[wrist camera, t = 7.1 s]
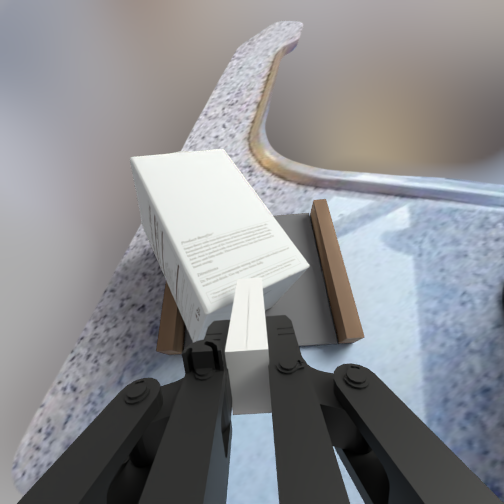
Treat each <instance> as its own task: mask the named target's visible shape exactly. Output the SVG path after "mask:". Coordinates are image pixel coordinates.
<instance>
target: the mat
mask: <svg viewBox="0 0 504 504" xmlns="http://www.w3.org/2000/svg"><path fill="white" fill-rule="evenodd" d="M273 217H274V218H275V219H276V221H277V222H278V224H279V225H280V226H281V227H282V229H283V230H284V231H285V233H286V234H287V236H288V237H289V238H290V240H291V241H292V242H293V244H294V245H295V246H296V248H297V249H298V250H299V252H300V253H301V254H302V256H303V257H304V259H305V260H306V261H307V263H308V264H309V268H308V269H307V270H306V271H305V272H304V273H303V274H302V275H301V276H300V277H299V278H298V280H297V281H296V282H295V283H294V284H293V285H292V286H291V287H290V288H289V289H288V290H287V291H286V292H285V294H284V295H283V296H282V297H281V298H280V299H279V300H278V301H277V302H276V303H275V304H274V306H273V307H271V308H269V309H267V310H265V316H277V315H286V316H287V317H288V318H289V319H290V320H291V321H292V324H293V329H294V331H295V335H296V338H297V342H298V345H299V346H310V345H325V344H336V343H337V339H336V334H335V330H334V325H333V321H332V316H331V312H330V307H329V303H328V298H327V294H326V289H325V285H324V280H323V275H322V271H321V266H320V262H319V257H318V253H317V248H316V244H315V239H314V235H313V230H312V226H311V221H310V217H309V213H302V214H290V215H277V216H273ZM191 343H193V341H192V339H191V336H190V334H189V332H188V330H187V327H186V335H185V346H184V349H185V348H186V347H187V346H189V345H190V344H191Z"/></svg>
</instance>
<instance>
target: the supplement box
mask: <svg viewBox="0 0 504 504" xmlns="http://www.w3.org/2000/svg"><path fill="white" fill-rule="evenodd" d="M130 164H131V169H132V174H133V179H134V184H135V189H136V193H137V198H138V203H139V209H140V215H141V223H142V225H143V228H144V231H145V233H146V235H147V238H148V240H149V242H150V245H151V247H152V249H153V251H154V254H155V256H156V258H157V260H158V263H159V265H160V267H161V270H162V272H163V274H164V276H165V279H166V281H167V283H168V286H169V288H170V290H171V292H172V295H173V297H174V299H175V302H176V304H177V306H178V309H179V311H180V313H181V316H182V318H183V320H184V323H185V325H186V327H187V330H188V332H189V334H190V336H191V339H192V341H193V343H194V342H196V341H198V340H204V337H205V336H206V331H207V328H208V326H209V325H210V324H211V323H212V322H213V321H217V320H230V319H231V314H232V308H233V302H234V296H235V291H236V285H237V279H247V278H260V277H262V287H263V298H264V309H265V310H267V309H269V308H271V307H273V306H274V304H275V303H276V302H277V301H278V300H279V299H280V298H281V297H282V296H283V295H284V294H285V292H286V291H287V290H288V289H289V288H290V287H291V286H292V285H293V284H294V283H295V282H296V281H297V280H298V278H299V277H300V276H301V275H302V274H303V273H304V272H305V271H306V270H307V269H308V268H309V264H308V263H307V261H306V260H305V259H304V257H303V256H302V254H301V253H300V252H299V250H298V249H297V248H296V246H295V245H294V244H293V242H292V241H291V240H290V238H289V237H288V236H287V234H286V233H285V231H284V230H283V229H282V227H281V226H280V225H279V224H278V222H277V221H276V219H275V218H274V217H273V215H272V214H271V213H270V211H269V210H268V209H267V207H266V206H265V205H264V203H263V202H262V200H261V199H260V198H259V196H258V195H257V194H256V192H255V191H254V190H253V188H252V187H251V186H250V184H249V183H248V182H247V180H246V179H245V178H244V176H243V175H242V174H241V172H240V171H239V169H238V168H237V167H236V165H235V164H234V163H233V161H232V160H231V159H230V157H229V156H228V154H227V153H226V152H225V150H224V149H215V150H205V151H194V152H188V151H181V152H175V153H172V154H161V155H150V156H138V157H131V158H130Z"/></svg>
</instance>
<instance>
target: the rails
mask: <svg viewBox="0 0 504 504" xmlns="http://www.w3.org/2000/svg"><path fill="white" fill-rule="evenodd" d="M310 218H311V223H312V227H313V232H314V236H315V241H316V245H317V250H318V254H319V259H320V263H321V268H322V272H323V277H324V281H325V286H326V290H327V295H328V299H329V304H330V308H331V313H332V317H333V322H334V326H335V330H336V335H337V339H338V344H340V343H354V342H356V341H358V340H360V339H362V338H364V334H363V330H362V326H361V323H360V319H359V316H358V312H357V308H356V305H355V301H354V298H353V294H352V290H351V287H350V283H349V280H348V276H347V273H346V269H345V265H344V262H343V258H342V255H341V251H340V247H339V244H338V240H337V237H336V233H335V230H334V226H333V222H332V219H331V215H330V212H329V208H328V204H327V201H326V199H321V200H314V201H313V205H312V209H311V213H310ZM185 329H186V325H185V323H184V320H183V318H182V316H181V313H180V311H179V309H178V306H177V304H176V302H175V299H174V297H173V295H172V292H171V290H170V288H169V286H168V283H167V281H166V284H165V291H164V299H163V306H162V313H161V320H160V327H159V335H158V342H157V349H156V351H157V352H161V353H164V354H168V355H174V354H182V352H183V350H184V341H185Z"/></svg>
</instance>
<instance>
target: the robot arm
mask: <svg viewBox="0 0 504 504" xmlns="http://www.w3.org/2000/svg"><path fill="white" fill-rule="evenodd" d="M182 357H183V362H184V368H185V373H186V374H185V377H184V378H182V379H181V380H178V381H176V382H173V383H170V384H167V385H164V386H161V387H160V384H159V382H158V381H157V380H156V379H153V378H143V379H139V380H136V381H134V382H132V383H131V384H129V385H127V386H126V387H125V388H124V389H123V390H121V391H120V392H119V393H118V395H117V396H116V397H115V398H114V399H113V400H112V401H111V402H110V403H109V404H108V405H107V406H106V408H105V409H104V410H103V411H102V412H101V413H100V414H99V415H98V416H97V417H96V418H95V419H94V421H93V422H92V423H91V424H90V425H89V426H88V427H87V428H86V429H85V430H84V431H83V432H82V434H81V435H80V436H79V437H78V438H77V439H76V440H75V441H74V442H73V443H72V444H71V445H70V447H69V448H68V449H67V450H66V451H65V452H64V453H63V454H62V455H61V456H60V457H59V458H58V460H57V461H56V462H55V463H54V464H53V465H52V466H51V467H50V468H49V469H48V470H47V471H46V473H45V474H44V475H43V476H42V477H41V478H40V479H39V480H38V481H37V482H36V483H35V484H34V486H33V487H32V488H31V489H30V490H29V491H28V492H27V493H26V494H25V495H24V496H23V497H22V499H21V500H20V501H19V502H18V503H17V504H226V498H227V486H228V474H229V463H230V451H231V439H232V424H231V411H232V410H233V415H241V414H257V413H272V420H273V433H274V445H275V457H276V469H277V481H278V494H279V504H350V502H349V498H348V495H347V492H346V489H345V485H344V482H343V479H342V475H341V472H340V469H339V466H338V462H337V459H336V456H335V453H334V449H333V446H334V447H335V449H336V451H337V453H338V455H339V457H340V459H341V461H342V462H343V464H344V466H345V468H346V470H347V472H348V473H349V475H350V477H351V479H352V481H353V482H354V484H355V486H356V488H357V490H358V492H359V493H360V495H361V497H362V499H363V501H364V503H365V504H504V503H503V502H502V501H501V500H500V499H499V498H498V497H497V496H496V495H495V494H494V493H493V492H492V491H491V490H490V489H489V488H488V487H487V486H486V485H485V484H484V483H483V482H482V481H481V480H480V479H479V478H478V477H477V476H476V475H475V474H474V473H473V472H472V471H471V470H470V469H469V468H468V467H467V466H466V465H465V464H464V463H463V462H462V461H461V460H460V459H459V458H458V457H457V456H456V455H455V454H454V453H453V452H452V451H451V450H450V449H449V448H448V447H447V446H446V445H445V444H444V443H443V442H442V441H441V440H440V439H439V438H438V437H437V436H436V435H435V434H434V433H433V432H432V431H431V430H430V429H429V428H428V427H427V426H426V425H425V424H424V423H423V422H422V421H421V420H420V419H419V418H418V417H417V416H416V415H415V414H414V413H413V412H412V411H411V410H410V409H409V408H408V407H407V406H406V405H405V404H404V403H403V402H402V401H401V400H400V399H399V398H398V397H397V396H396V395H395V394H394V393H393V392H392V391H391V390H390V389H389V388H388V387H387V386H386V385H385V384H384V383H383V382H382V381H381V380H380V379H379V378H378V377H377V376H376V375H375V374H374V373H373V372H372V371H370V370H369V369H368V368H365V367H363V366H361V365H356V364H343V365H341V366H339V367H337V368H336V370H335V371H334V374H333V373H327V372H322V371H319V370H316V369H314V368H312V367H310V366H309V365H307V363H306V361H305V360H304V359H303V358H302V356H301V352H300V349H299V345H298V342H297V338H296V335H295V331H294V329H293V324H292V321H291V320H290V319H289V318H288V317H287V316H286V315H277V316H265V309H264V298H263V287H262V277H260V278H247V279H237V285H236V291H235V296H234V302H233V308H232V314H231V319H230V320H217V321H213V322H212V323H211V324H210V325H209V326H208V328H207V331H206V336H205V337H204V340H198V341H196V342H194V343H191V344H190V345H189V346H187V347H186V348H185V349H184V350H183V352H182Z"/></svg>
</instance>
